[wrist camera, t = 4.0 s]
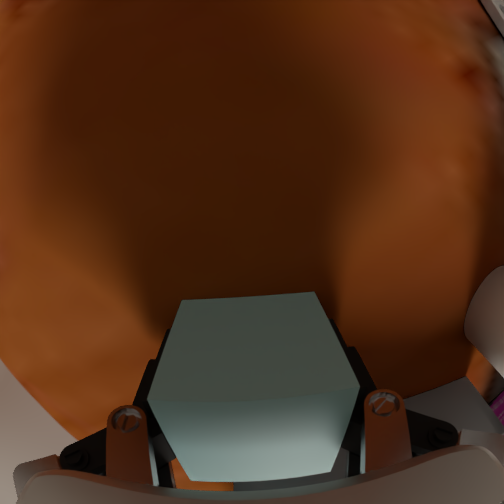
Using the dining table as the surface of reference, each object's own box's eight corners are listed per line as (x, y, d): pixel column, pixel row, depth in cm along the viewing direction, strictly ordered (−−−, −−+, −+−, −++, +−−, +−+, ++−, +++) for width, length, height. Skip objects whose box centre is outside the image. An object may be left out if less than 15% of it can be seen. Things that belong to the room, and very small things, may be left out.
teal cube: (181, 299, 10) (146, 399, 6) (314, 291, 10) (359, 385, 6) (202, 390, 12) (191, 480, 7) (307, 383, 12) (330, 471, 7)
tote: (233, 426, 13) (233, 519, 7) (465, 376, 13) (506, 430, 8) (252, 513, 19) (255, 555, 14) (389, 487, 20) (401, 523, 14)
